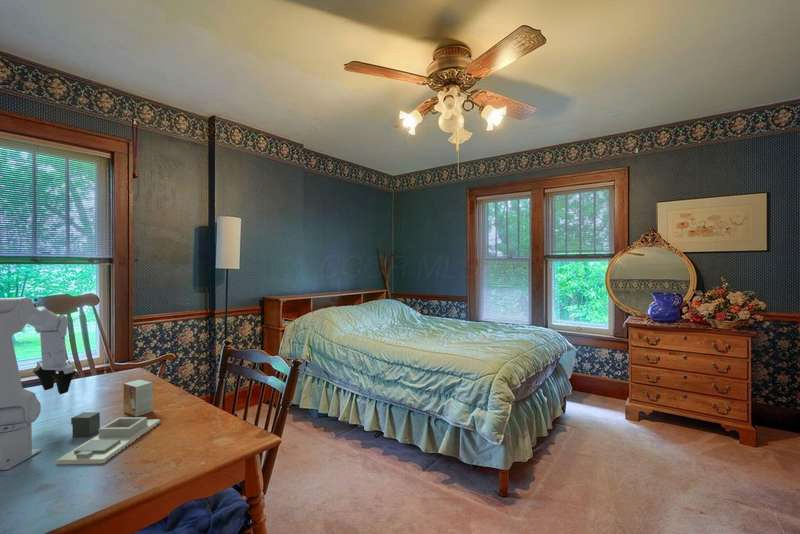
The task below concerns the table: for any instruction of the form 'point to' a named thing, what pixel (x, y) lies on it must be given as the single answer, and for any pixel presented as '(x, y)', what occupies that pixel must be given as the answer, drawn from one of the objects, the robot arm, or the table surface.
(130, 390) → the small box
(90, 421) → the plug
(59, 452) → the table surface
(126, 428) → the socket base board
